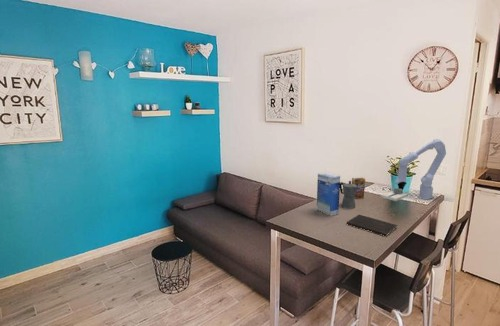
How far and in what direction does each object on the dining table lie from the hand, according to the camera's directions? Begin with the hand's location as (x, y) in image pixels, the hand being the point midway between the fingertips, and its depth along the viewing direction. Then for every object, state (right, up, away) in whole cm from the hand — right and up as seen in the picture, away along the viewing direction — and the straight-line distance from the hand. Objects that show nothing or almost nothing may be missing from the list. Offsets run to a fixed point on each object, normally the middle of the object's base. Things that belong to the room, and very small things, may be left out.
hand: (400, 191), depth 223 cm
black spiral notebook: (-46, -16, -54) cm, 73 cm away
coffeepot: (-48, -8, -20) cm, 53 cm away
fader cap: (-3, -1, -2) cm, 4 cm away
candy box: (-35, -5, -4) cm, 36 cm away
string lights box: (-66, -11, -32) cm, 74 cm away
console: (-7, -4, -4) cm, 9 cm away
